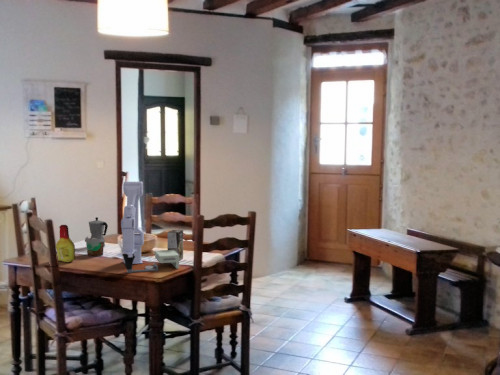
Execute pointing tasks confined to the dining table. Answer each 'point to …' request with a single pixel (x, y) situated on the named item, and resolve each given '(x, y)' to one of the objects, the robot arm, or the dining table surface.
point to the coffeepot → (97, 228)
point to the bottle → (65, 246)
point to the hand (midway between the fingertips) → (128, 268)
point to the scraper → (143, 270)
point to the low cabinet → (168, 257)
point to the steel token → (149, 267)
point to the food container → (94, 246)
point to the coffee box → (176, 242)
